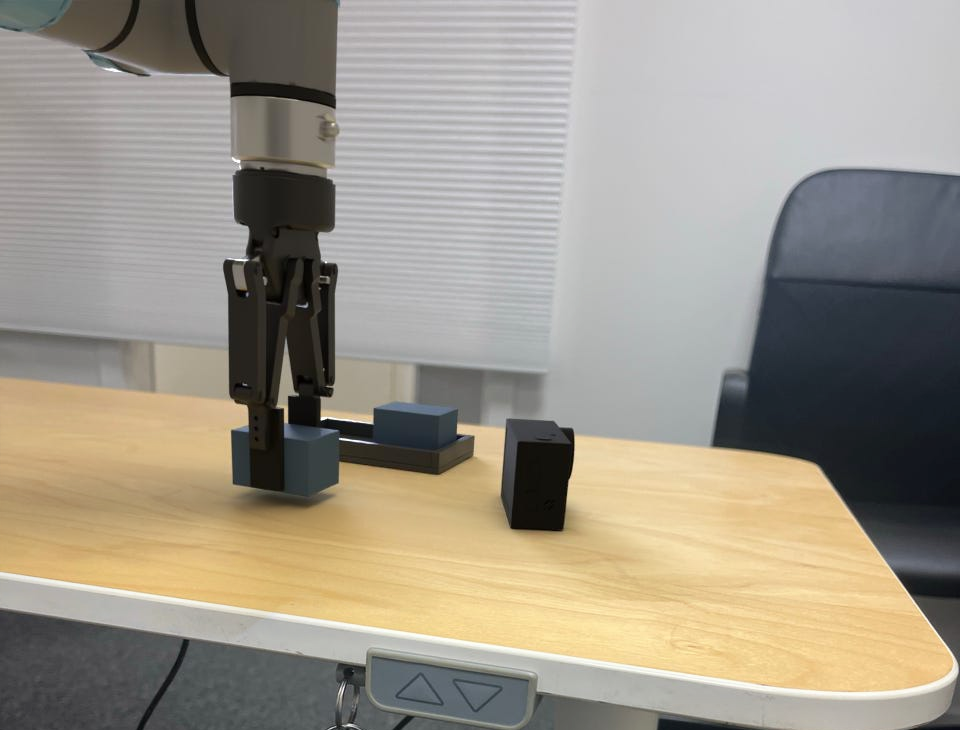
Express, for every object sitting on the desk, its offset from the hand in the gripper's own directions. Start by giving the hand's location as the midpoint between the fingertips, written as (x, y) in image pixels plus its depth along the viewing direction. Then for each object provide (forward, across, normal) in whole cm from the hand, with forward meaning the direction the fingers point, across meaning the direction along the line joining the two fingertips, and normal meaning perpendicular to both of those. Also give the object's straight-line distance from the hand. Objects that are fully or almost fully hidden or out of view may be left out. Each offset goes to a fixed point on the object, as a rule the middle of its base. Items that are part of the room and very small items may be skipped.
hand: (286, 480), depth 77 cm
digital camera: (+1, +6, -20) cm, 21 cm away
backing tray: (+1, +20, +1) cm, 20 cm away
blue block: (+1, +20, -4) cm, 20 cm away
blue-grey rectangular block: (0, 0, 0) cm, 0 cm away
